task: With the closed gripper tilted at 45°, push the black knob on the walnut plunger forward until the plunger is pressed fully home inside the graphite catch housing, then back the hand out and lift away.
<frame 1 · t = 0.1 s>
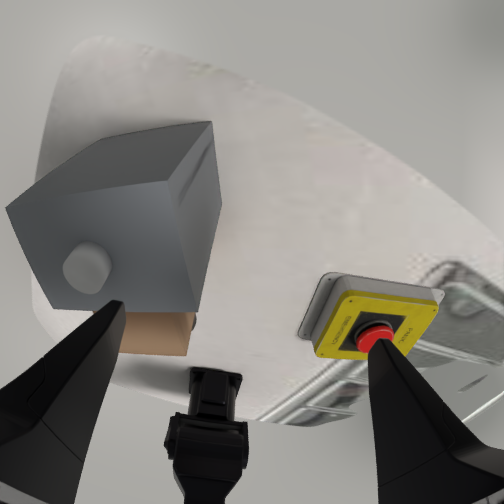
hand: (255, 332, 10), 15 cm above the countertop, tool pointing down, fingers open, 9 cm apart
plunger: (159, 283, 21), point 5 cm above the countertop, slide at 4.0 cm
catch housing: (169, 219, 24), on the countertop
emergency button: (373, 310, 31), on the countertop
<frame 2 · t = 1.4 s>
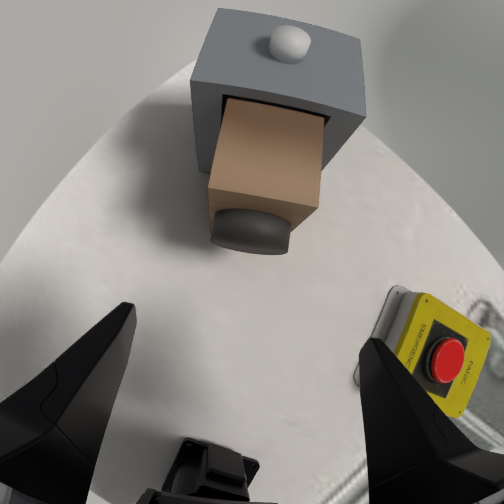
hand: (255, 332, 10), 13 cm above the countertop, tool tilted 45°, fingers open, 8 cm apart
plunger: (255, 196, 19), point 5 cm above the countertop, slide at 4.0 cm
catch housing: (251, 191, 24), on the countertop
emergency button: (426, 358, 25), on the countertop
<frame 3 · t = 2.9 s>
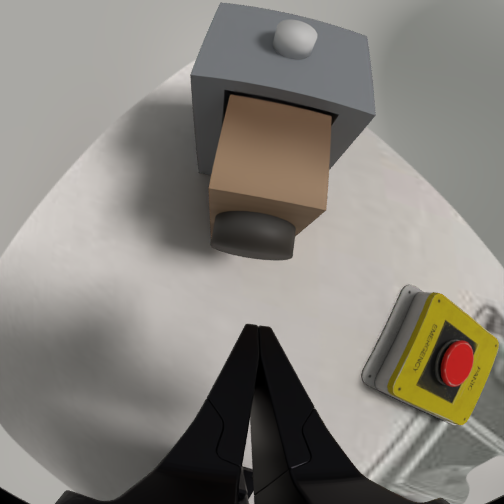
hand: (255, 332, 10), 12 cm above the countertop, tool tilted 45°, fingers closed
plunger: (258, 198, 18), point 5 cm above the countertop, slide at 4.0 cm
catch housing: (252, 194, 23), on the countertop
emergency button: (434, 362, 24), on the countertop
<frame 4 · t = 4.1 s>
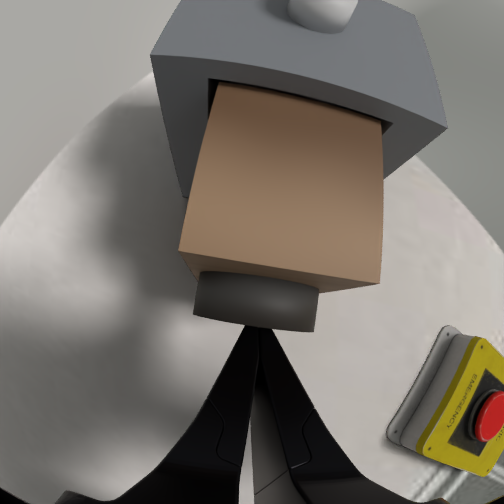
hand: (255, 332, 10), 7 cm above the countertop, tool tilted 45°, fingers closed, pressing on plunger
plunger: (263, 240, 12), point 5 cm above the countertop, slide at 3.8 cm, touching gripper
catch housing: (254, 225, 18), on the countertop
emergency button: (462, 409, 18), on the countertop
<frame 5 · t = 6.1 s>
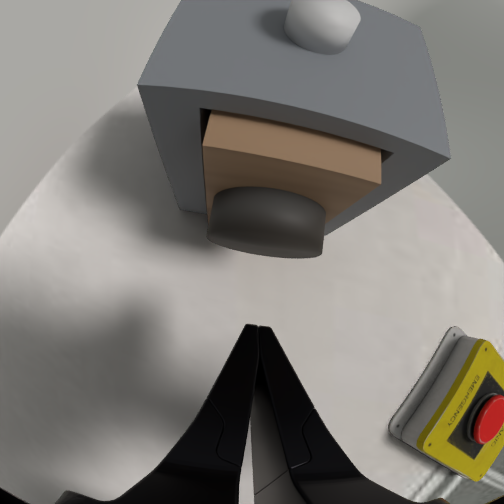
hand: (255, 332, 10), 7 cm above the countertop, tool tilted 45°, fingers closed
plunger: (272, 175, 13), point 5 cm above the countertop, slide at 0.0 cm
catch housing: (251, 238, 18), on the countertop
emergency button: (461, 412, 19), on the countertop
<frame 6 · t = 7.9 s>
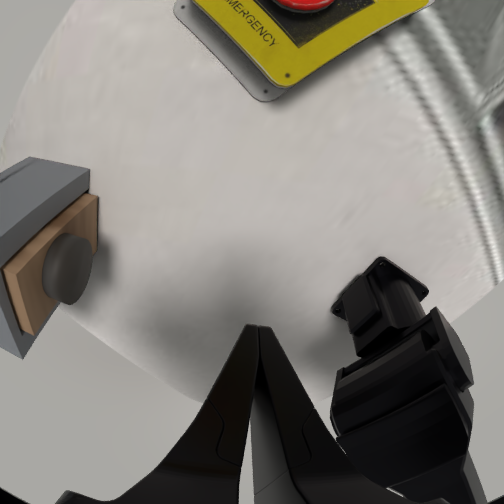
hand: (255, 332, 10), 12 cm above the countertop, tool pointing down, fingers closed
plunger: (45, 252, 18), point 5 cm above the countertop, slide at 0.0 cm
catch housing: (98, 222, 22), on the countertop
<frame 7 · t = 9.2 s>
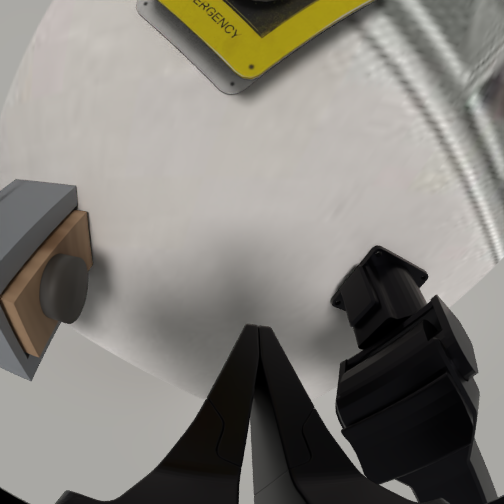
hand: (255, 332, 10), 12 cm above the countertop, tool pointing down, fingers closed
plunger: (41, 274, 18), point 5 cm above the countertop, slide at 0.0 cm
catch housing: (91, 237, 22), on the countertop
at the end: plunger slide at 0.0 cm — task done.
